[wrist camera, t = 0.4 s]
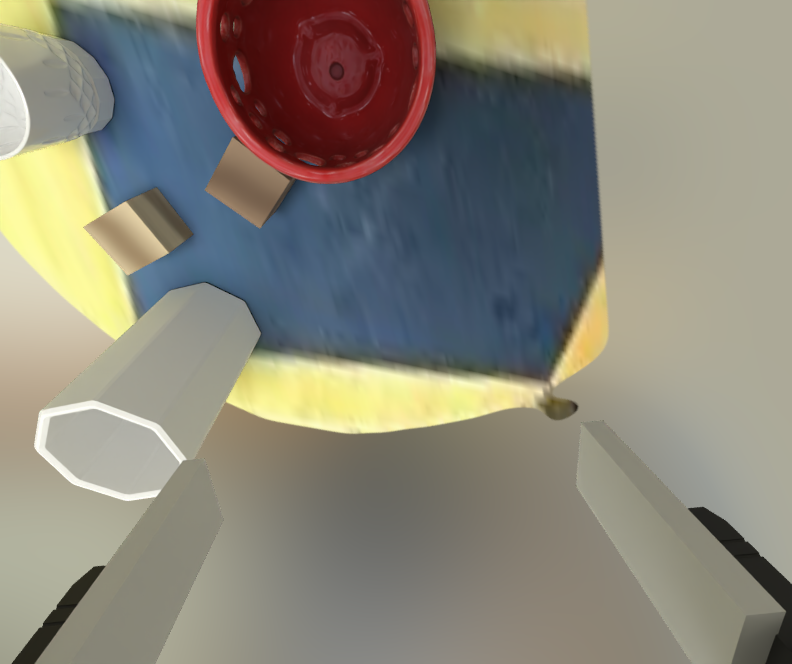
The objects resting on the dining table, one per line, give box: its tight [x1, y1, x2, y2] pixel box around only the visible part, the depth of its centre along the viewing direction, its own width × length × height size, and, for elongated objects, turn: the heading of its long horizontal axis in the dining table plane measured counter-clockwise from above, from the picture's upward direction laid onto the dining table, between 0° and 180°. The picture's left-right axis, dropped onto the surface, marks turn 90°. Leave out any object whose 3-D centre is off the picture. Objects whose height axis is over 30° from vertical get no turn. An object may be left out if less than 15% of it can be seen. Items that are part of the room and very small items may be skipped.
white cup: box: [0, 23, 114, 160], centre depth 28 cm, size 8×8×10 cm
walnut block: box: [205, 136, 296, 228], centre depth 34 cm, size 5×5×5 cm
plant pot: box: [196, 0, 436, 184], centre depth 27 cm, size 13×13×12 cm
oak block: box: [83, 187, 193, 275], centre depth 37 cm, size 5×5×5 cm
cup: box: [34, 283, 261, 501], centre depth 37 cm, size 11×11×18 cm
